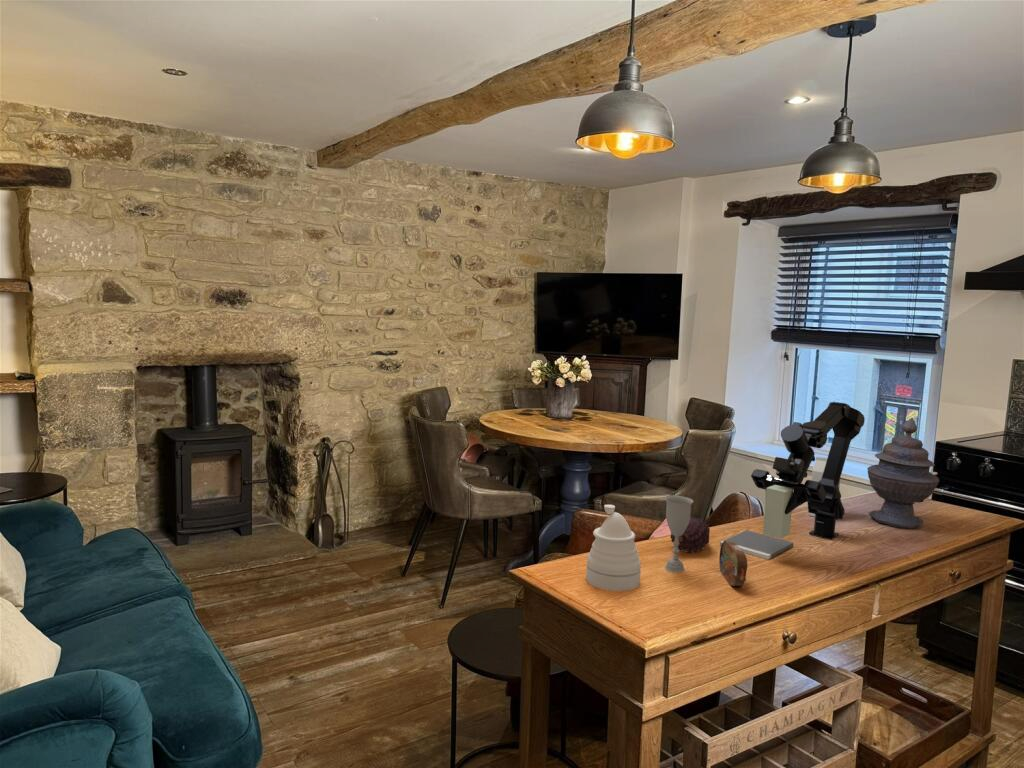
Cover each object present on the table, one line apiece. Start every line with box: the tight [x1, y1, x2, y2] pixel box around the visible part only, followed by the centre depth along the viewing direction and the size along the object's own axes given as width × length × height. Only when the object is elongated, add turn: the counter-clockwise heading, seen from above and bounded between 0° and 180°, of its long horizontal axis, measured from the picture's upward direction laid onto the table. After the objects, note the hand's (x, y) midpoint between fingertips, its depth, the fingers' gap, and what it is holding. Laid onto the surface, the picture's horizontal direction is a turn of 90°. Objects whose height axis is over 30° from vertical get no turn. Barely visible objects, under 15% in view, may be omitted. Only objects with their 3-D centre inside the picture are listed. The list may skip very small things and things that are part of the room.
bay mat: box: [719, 529, 794, 560], centre depth 198 cm, size 16×14×1 cm
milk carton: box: [808, 456, 841, 517], centre depth 228 cm, size 7×7×19 cm
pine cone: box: [670, 516, 711, 554], centre depth 193 cm, size 18×10×10 cm
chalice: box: [664, 495, 694, 574], centre depth 177 cm, size 7×7×18 cm
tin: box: [718, 540, 748, 587], centre depth 172 cm, size 15×3×8 cm, turn 178°
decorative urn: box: [867, 417, 940, 529], centre depth 222 cm, size 20×20×34 cm
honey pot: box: [585, 504, 642, 592], centre depth 169 cm, size 13×13×18 cm
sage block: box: [762, 485, 794, 539], centre depth 186 cm, size 5×5×12 cm
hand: (775, 510), depth 185 cm, fingers closed on sage block, 5 cm apart
